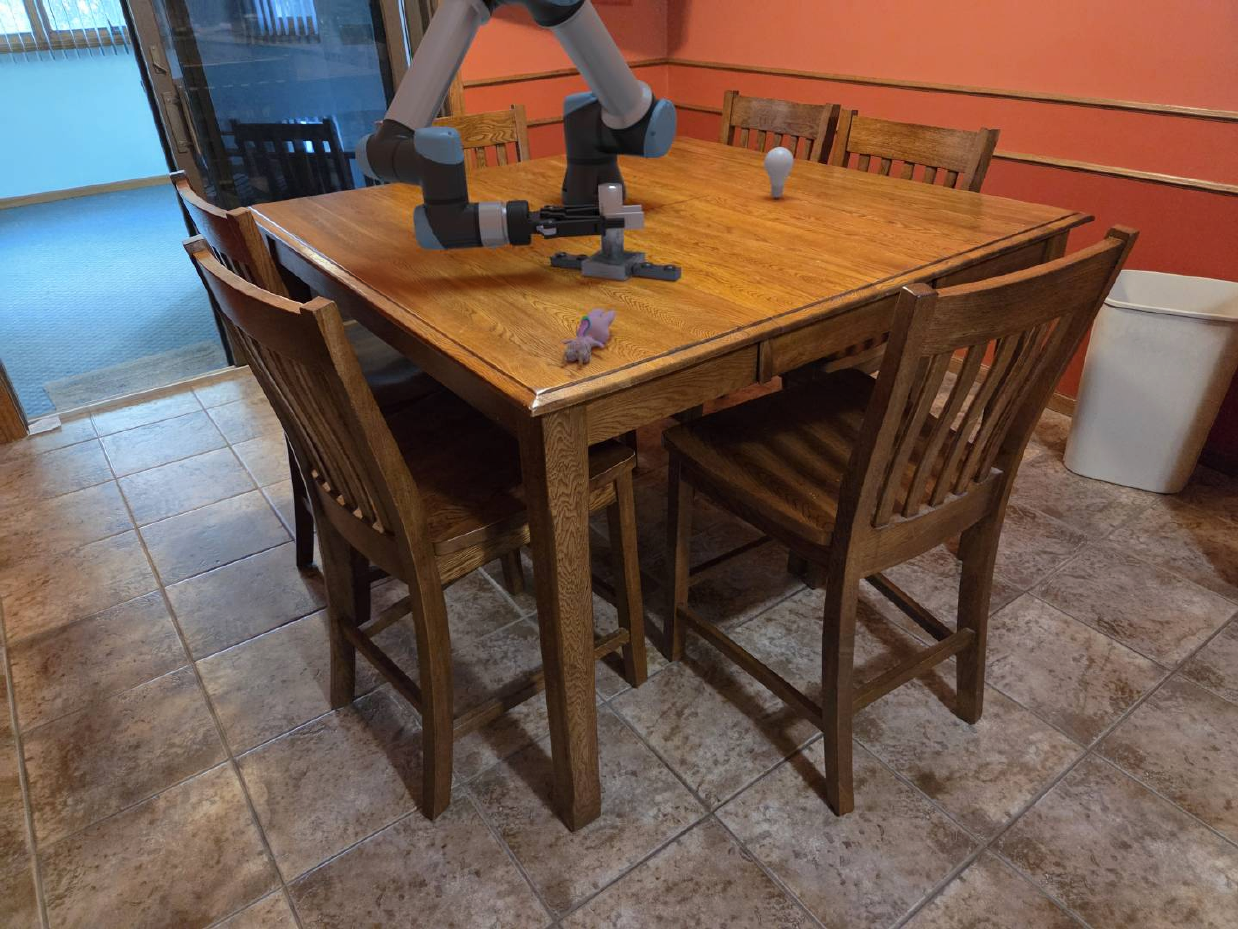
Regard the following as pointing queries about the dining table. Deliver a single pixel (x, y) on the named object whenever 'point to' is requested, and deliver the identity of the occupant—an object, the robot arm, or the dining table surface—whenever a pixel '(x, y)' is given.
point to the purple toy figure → (589, 336)
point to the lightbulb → (778, 169)
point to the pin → (607, 205)
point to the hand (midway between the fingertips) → (642, 216)
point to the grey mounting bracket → (616, 266)
